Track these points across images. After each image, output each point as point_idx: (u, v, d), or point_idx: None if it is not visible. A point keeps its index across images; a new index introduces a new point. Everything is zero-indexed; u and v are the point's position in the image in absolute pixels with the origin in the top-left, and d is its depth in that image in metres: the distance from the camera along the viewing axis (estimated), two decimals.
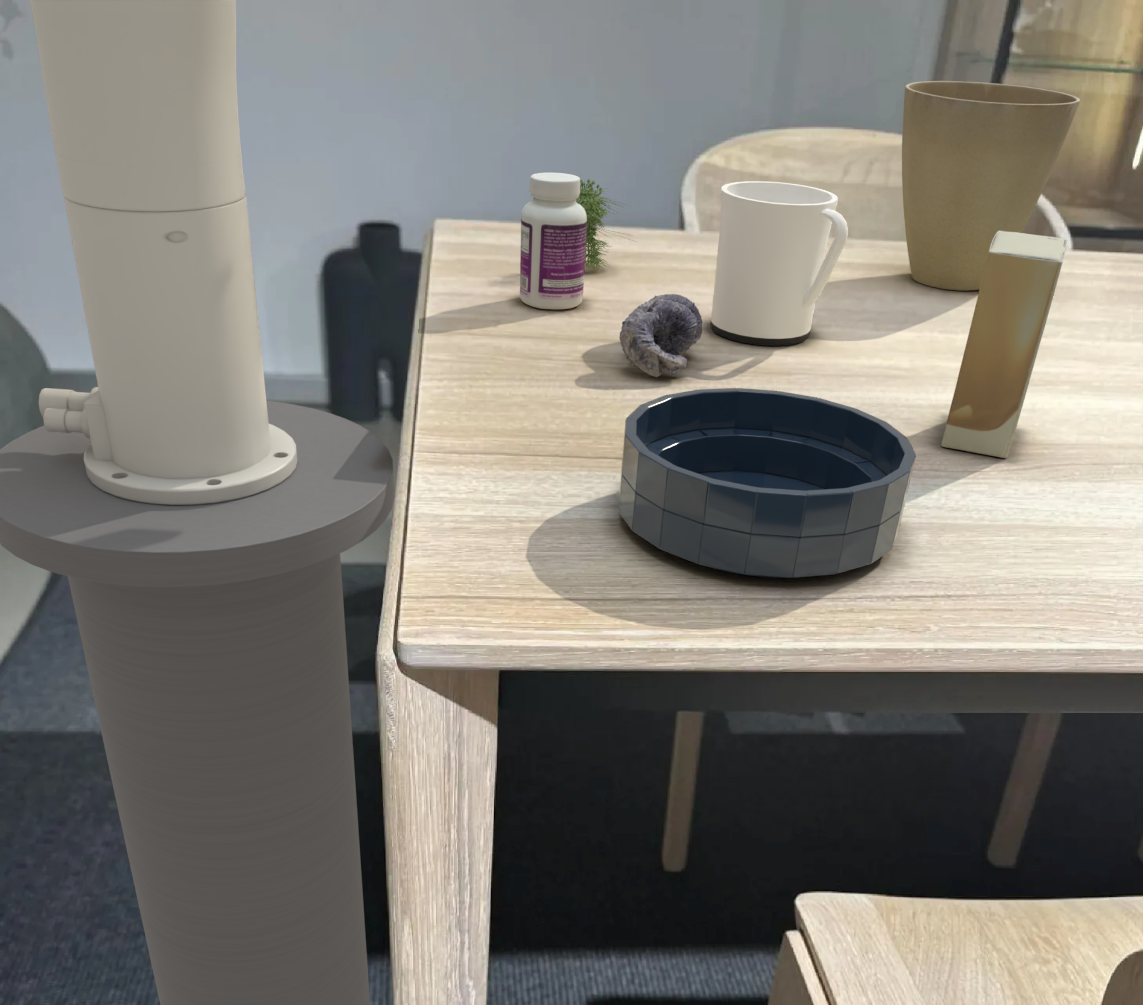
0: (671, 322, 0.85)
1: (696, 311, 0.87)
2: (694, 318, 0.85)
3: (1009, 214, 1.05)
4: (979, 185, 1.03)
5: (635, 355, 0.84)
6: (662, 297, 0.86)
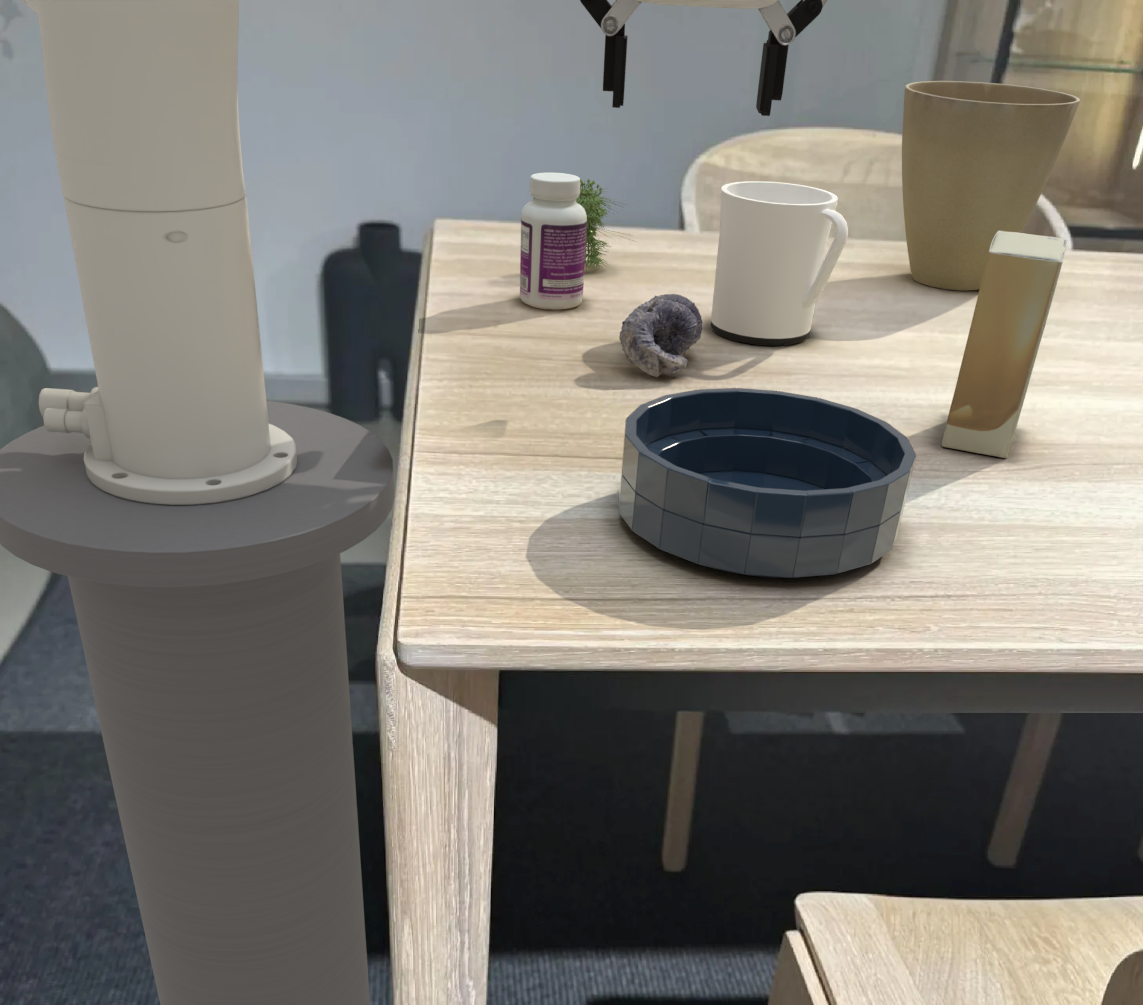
0: (671, 322, 0.85)
1: (696, 311, 0.87)
2: (694, 318, 0.85)
3: (1009, 214, 1.05)
4: (979, 185, 1.03)
5: (635, 355, 0.84)
6: (662, 297, 0.86)
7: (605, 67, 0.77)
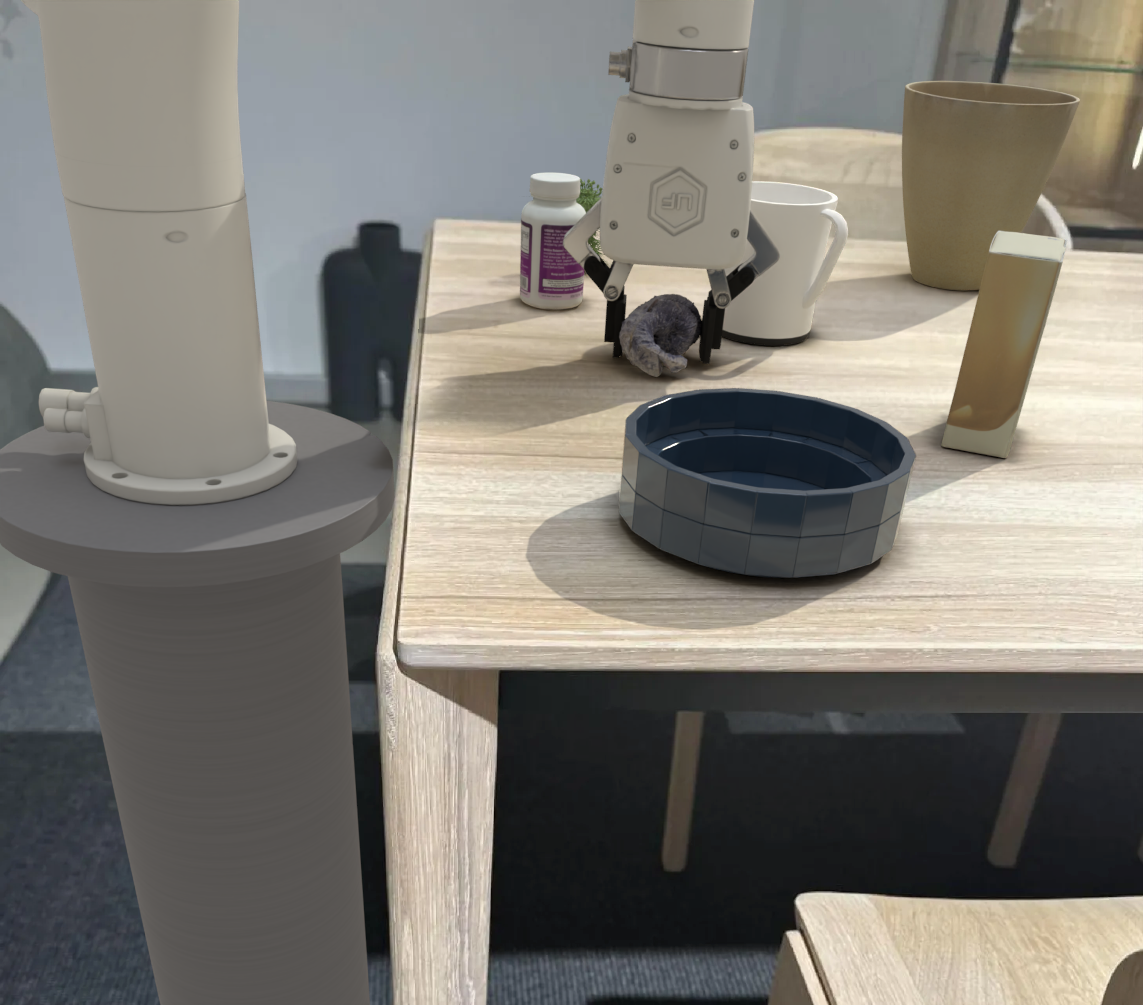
0: (671, 322, 0.85)
1: (696, 311, 0.87)
2: (694, 318, 0.85)
3: (1009, 214, 1.05)
4: (979, 185, 1.03)
5: (635, 355, 0.84)
6: (662, 297, 0.87)
7: (606, 324, 0.86)
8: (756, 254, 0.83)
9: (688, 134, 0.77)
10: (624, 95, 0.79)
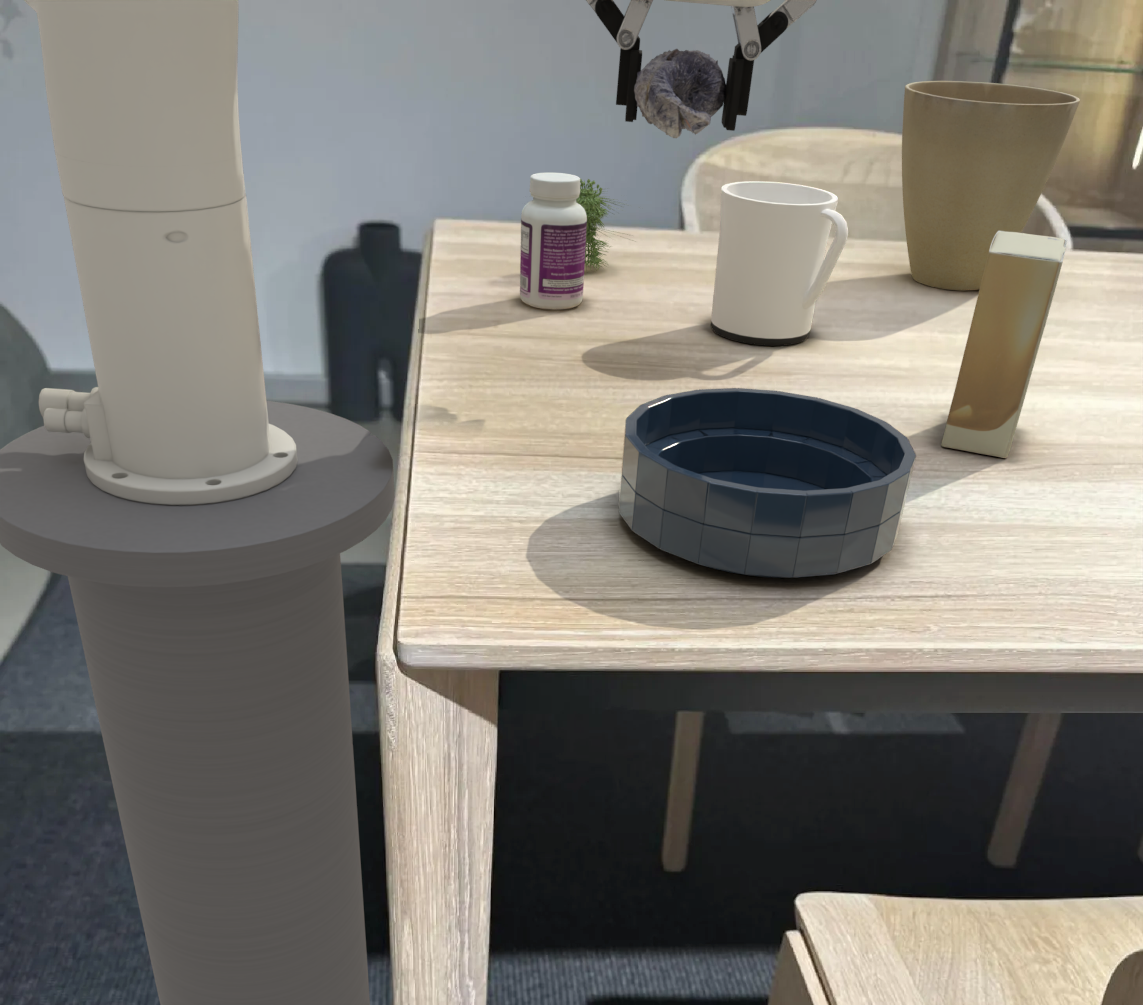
0: (693, 75, 0.75)
1: (719, 70, 0.77)
2: (718, 73, 0.75)
3: (1009, 214, 1.05)
4: (979, 185, 1.03)
5: (652, 109, 0.74)
6: None
7: (619, 81, 0.76)
8: None
9: None
10: None
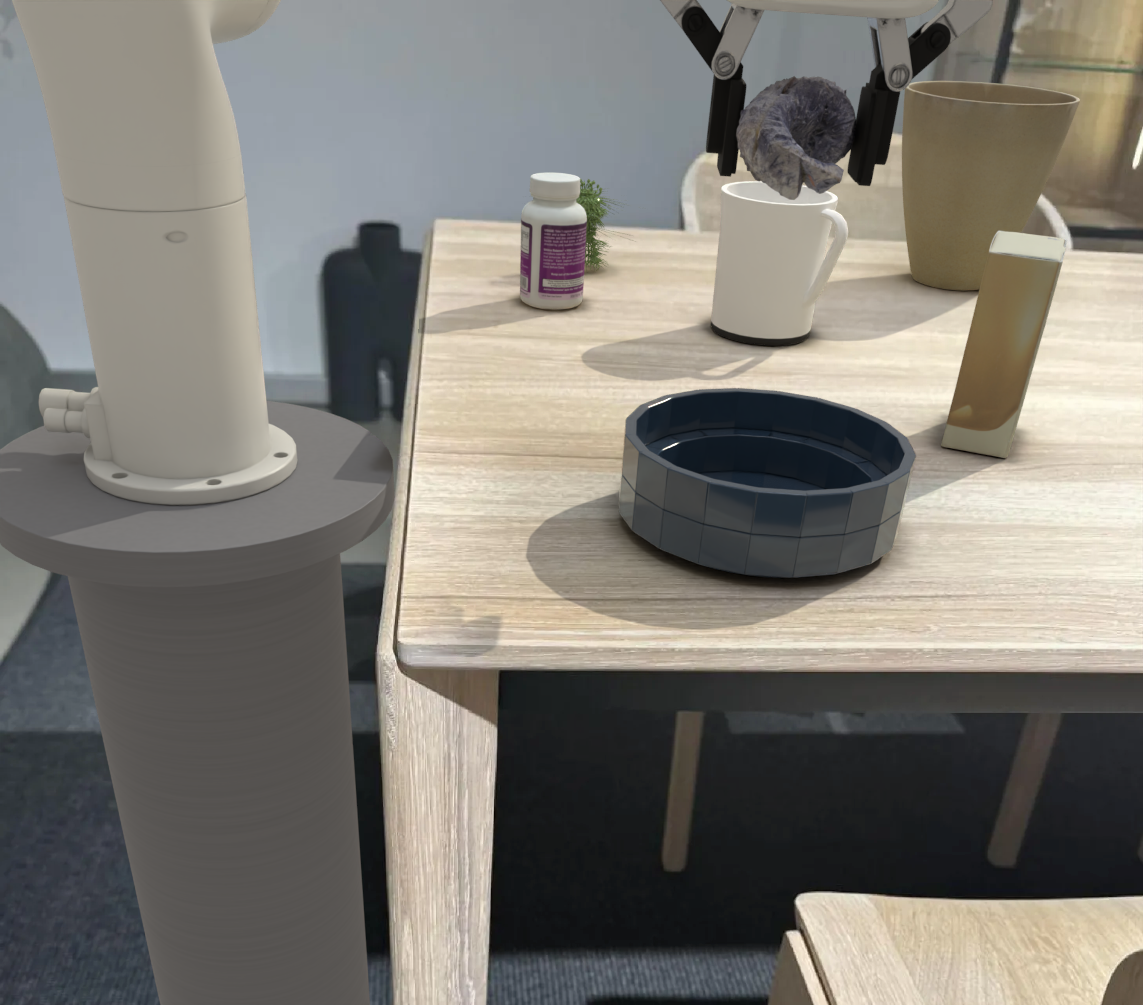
0: (817, 113, 0.54)
1: None
2: (851, 108, 0.55)
3: (1009, 214, 1.05)
4: (979, 185, 1.03)
5: (763, 161, 0.53)
6: None
7: (713, 121, 0.56)
8: (956, 0, 0.53)
9: None
10: None
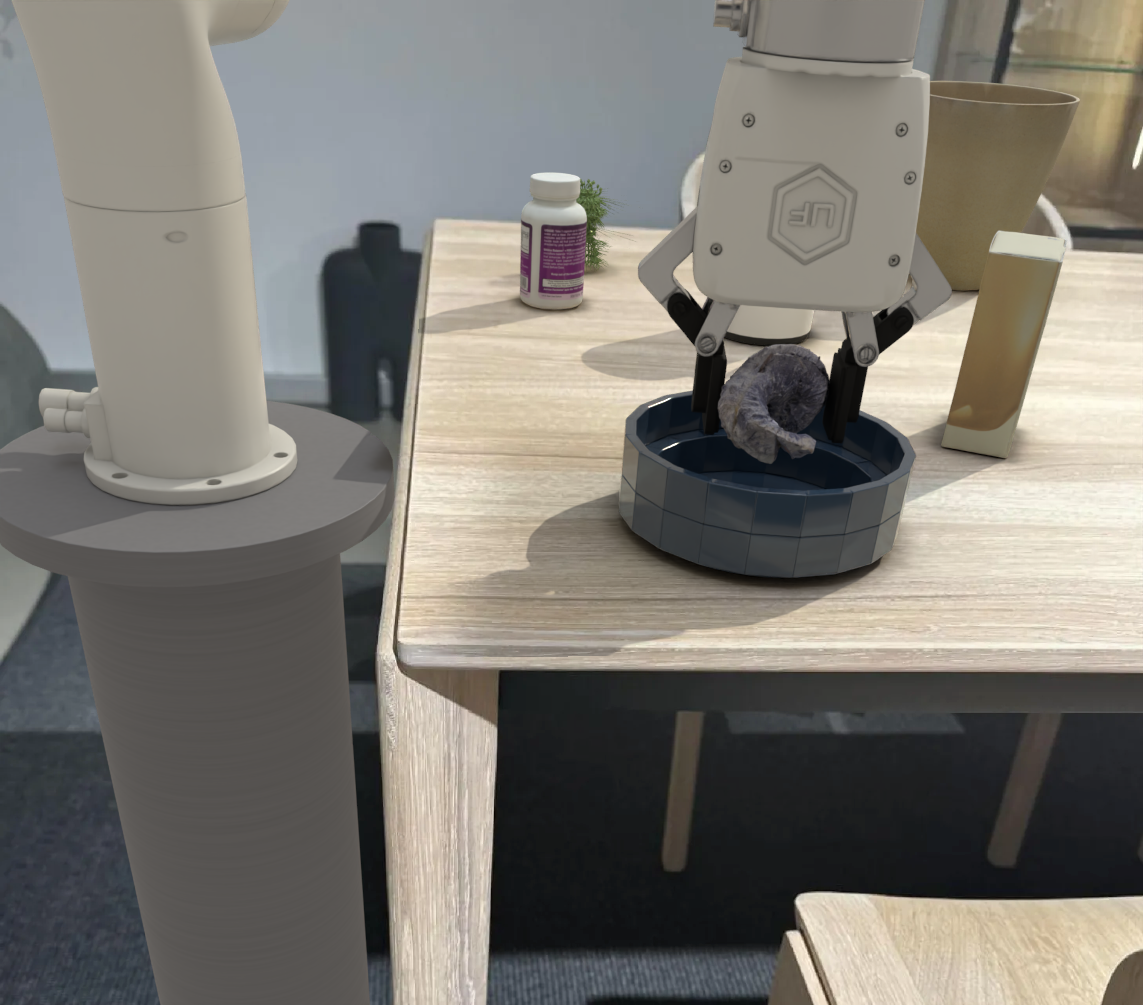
0: (792, 387, 0.59)
1: (823, 368, 0.61)
2: (823, 380, 0.60)
3: (1009, 214, 1.05)
4: (979, 185, 1.03)
5: (742, 435, 0.58)
6: (775, 349, 0.61)
7: (697, 388, 0.61)
8: (918, 290, 0.58)
9: (834, 115, 0.52)
10: (733, 58, 0.54)
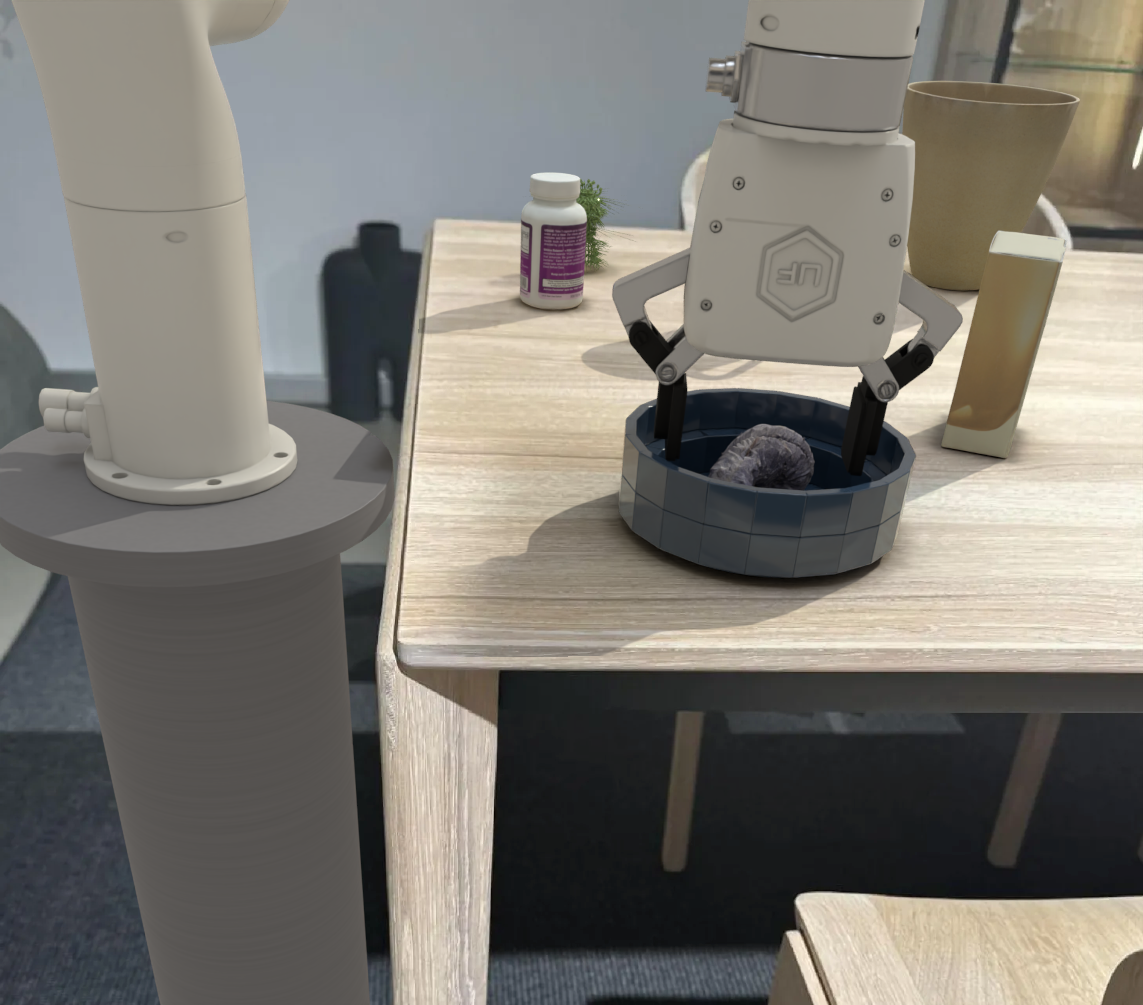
0: (777, 469, 0.62)
1: (807, 449, 0.64)
2: (807, 462, 0.62)
3: (1009, 214, 1.05)
4: (979, 185, 1.03)
5: None
6: (761, 431, 0.63)
7: (658, 415, 0.62)
8: (928, 325, 0.59)
9: (821, 180, 0.53)
10: (725, 120, 0.55)
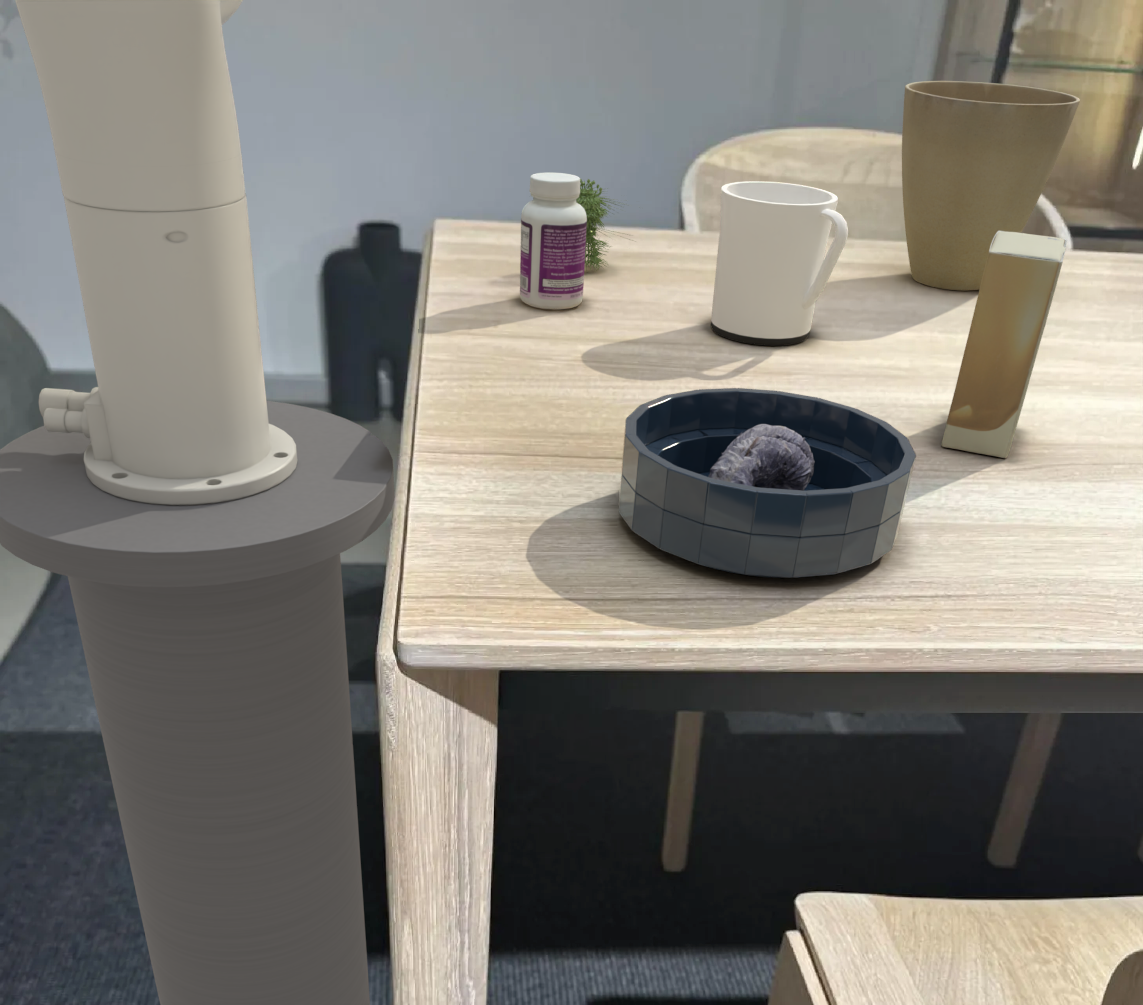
0: (777, 469, 0.62)
1: (807, 449, 0.64)
2: (807, 462, 0.62)
3: (1009, 214, 1.05)
4: (979, 185, 1.03)
5: None
6: (761, 431, 0.63)
7: None
8: None
9: None
10: None
